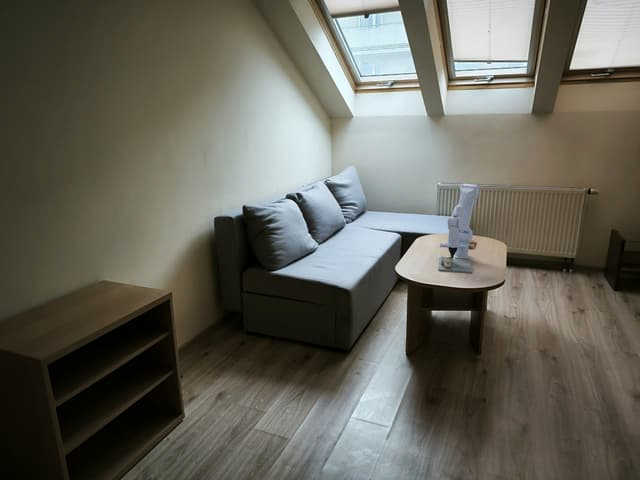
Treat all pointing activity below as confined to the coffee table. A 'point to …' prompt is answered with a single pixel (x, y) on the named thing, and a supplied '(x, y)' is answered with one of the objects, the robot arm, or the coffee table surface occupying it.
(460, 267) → the board
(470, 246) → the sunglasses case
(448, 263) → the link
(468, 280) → the coffee table surface
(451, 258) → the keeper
